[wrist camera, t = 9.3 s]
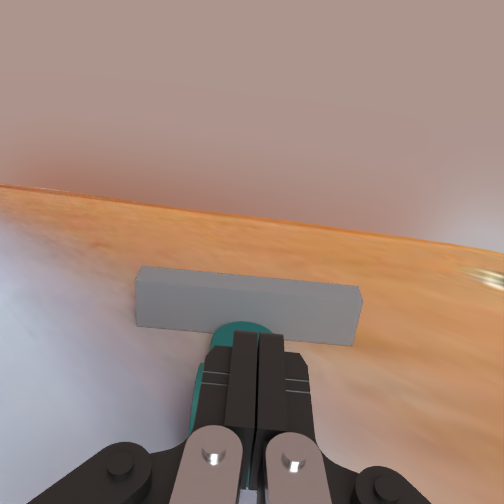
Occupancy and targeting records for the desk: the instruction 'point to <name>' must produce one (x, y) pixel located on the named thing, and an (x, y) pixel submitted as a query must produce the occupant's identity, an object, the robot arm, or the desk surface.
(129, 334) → the desk surface
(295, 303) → the board
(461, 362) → the desk surface
